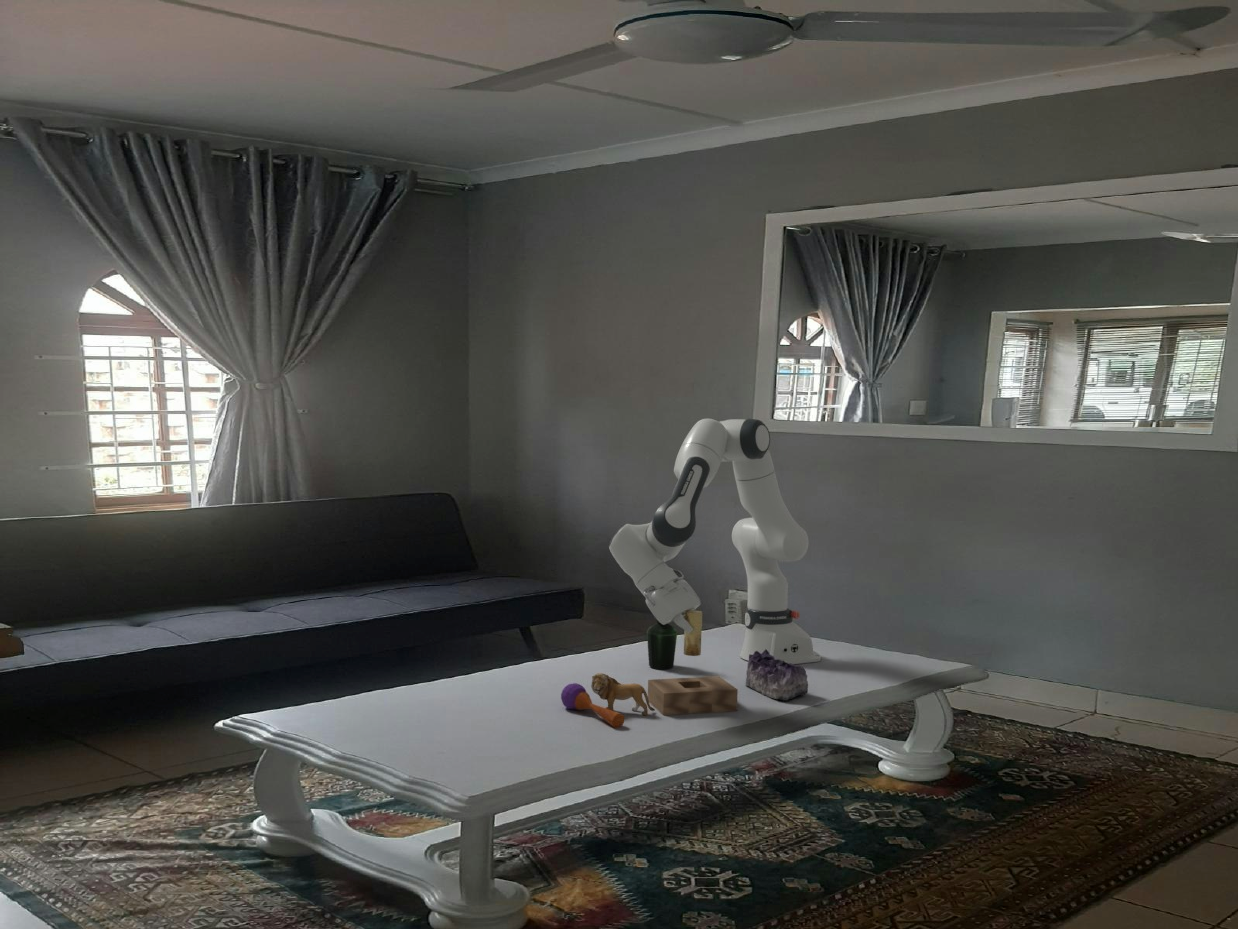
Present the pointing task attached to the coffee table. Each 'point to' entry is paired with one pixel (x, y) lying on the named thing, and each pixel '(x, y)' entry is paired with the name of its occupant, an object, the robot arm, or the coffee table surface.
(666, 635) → the potion bottle
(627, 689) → the lion figurine
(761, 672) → the geode
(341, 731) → the coffee table surface
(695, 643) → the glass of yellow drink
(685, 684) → the walnut hole block
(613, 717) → the purple and orange maraca
